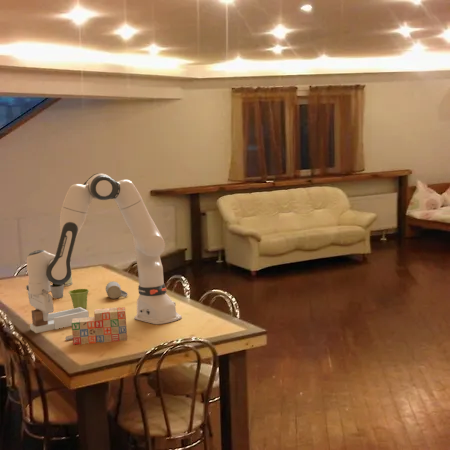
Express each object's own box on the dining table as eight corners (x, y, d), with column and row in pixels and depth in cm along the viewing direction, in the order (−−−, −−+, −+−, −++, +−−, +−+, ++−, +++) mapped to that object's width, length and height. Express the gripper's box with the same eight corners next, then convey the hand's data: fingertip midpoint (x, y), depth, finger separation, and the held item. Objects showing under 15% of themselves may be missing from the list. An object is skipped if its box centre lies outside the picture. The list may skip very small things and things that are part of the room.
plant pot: (70, 312, 300) (69, 294, 298) (69, 307, 309) (68, 289, 307) (90, 309, 302) (89, 292, 301) (89, 305, 311) (88, 287, 310)
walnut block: (48, 324, 273) (46, 310, 272) (36, 326, 270) (35, 312, 269) (43, 321, 277) (42, 308, 276) (32, 324, 274) (31, 310, 273)
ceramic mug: (107, 300, 319) (106, 285, 318) (106, 296, 326) (105, 281, 325) (128, 298, 321) (127, 283, 320) (126, 294, 329) (125, 280, 328)
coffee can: (55, 287, 352) (53, 262, 350) (52, 284, 361) (50, 259, 359) (74, 284, 356) (72, 260, 354) (70, 281, 365) (68, 257, 363)
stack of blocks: (72, 345, 251) (70, 315, 249) (74, 340, 257) (71, 311, 256) (127, 340, 254) (125, 310, 253) (127, 335, 260) (125, 306, 259)
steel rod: (99, 334, 265) (97, 332, 267) (99, 330, 265) (97, 328, 266) (67, 341, 257) (65, 339, 258) (67, 338, 257) (65, 335, 258)
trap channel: (89, 321, 282) (88, 310, 282) (36, 333, 269) (35, 322, 268) (81, 317, 289) (80, 307, 288) (30, 329, 275) (28, 317, 275)
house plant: (78, 292, 337) (75, 262, 334) (69, 299, 323) (66, 268, 321) (52, 293, 338) (49, 263, 336) (42, 300, 325) (39, 269, 322)
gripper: (55, 290, 265) (58, 322, 267) (38, 282, 282) (41, 312, 284) (41, 293, 262) (44, 325, 264) (24, 285, 278) (27, 315, 280)
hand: (42, 319), depth 274 cm, fingers closed on walnut block, 5 cm apart
